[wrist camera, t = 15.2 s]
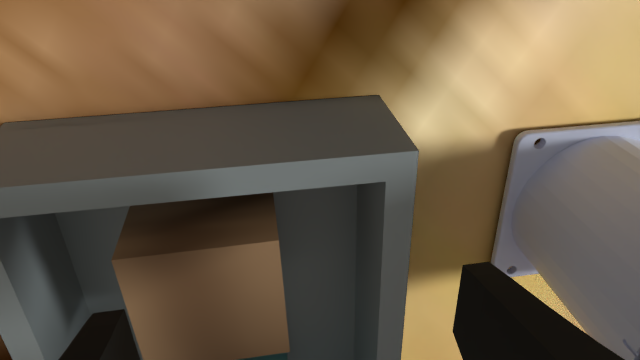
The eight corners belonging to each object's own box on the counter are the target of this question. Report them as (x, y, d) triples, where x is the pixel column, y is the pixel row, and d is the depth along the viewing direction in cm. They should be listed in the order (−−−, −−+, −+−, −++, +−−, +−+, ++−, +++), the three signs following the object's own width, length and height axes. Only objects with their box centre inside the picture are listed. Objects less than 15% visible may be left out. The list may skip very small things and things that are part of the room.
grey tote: (378, 95, 20) (418, 150, 15) (367, 390, 29) (390, 477, 24) (4, 122, 18) (-70, 193, 14) (117, 426, 27) (94, 526, 23)
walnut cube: (269, 164, 19) (278, 240, 15) (279, 263, 22) (290, 351, 18) (139, 177, 19) (111, 260, 15) (165, 277, 21) (147, 372, 17)
